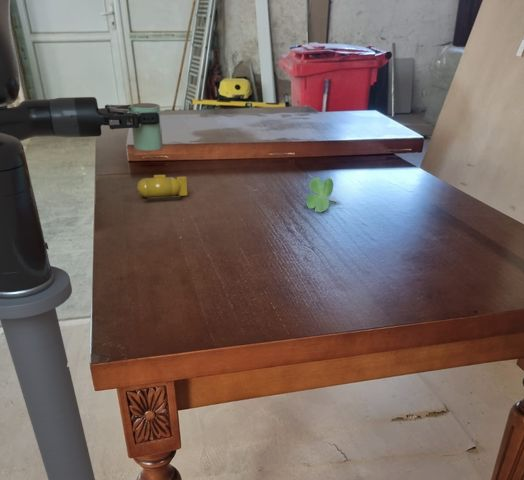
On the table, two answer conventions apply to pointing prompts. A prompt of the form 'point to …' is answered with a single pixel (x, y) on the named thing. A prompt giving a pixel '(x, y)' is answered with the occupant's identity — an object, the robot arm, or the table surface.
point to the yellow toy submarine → (162, 188)
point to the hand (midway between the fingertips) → (156, 115)
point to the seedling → (319, 194)
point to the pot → (147, 129)
